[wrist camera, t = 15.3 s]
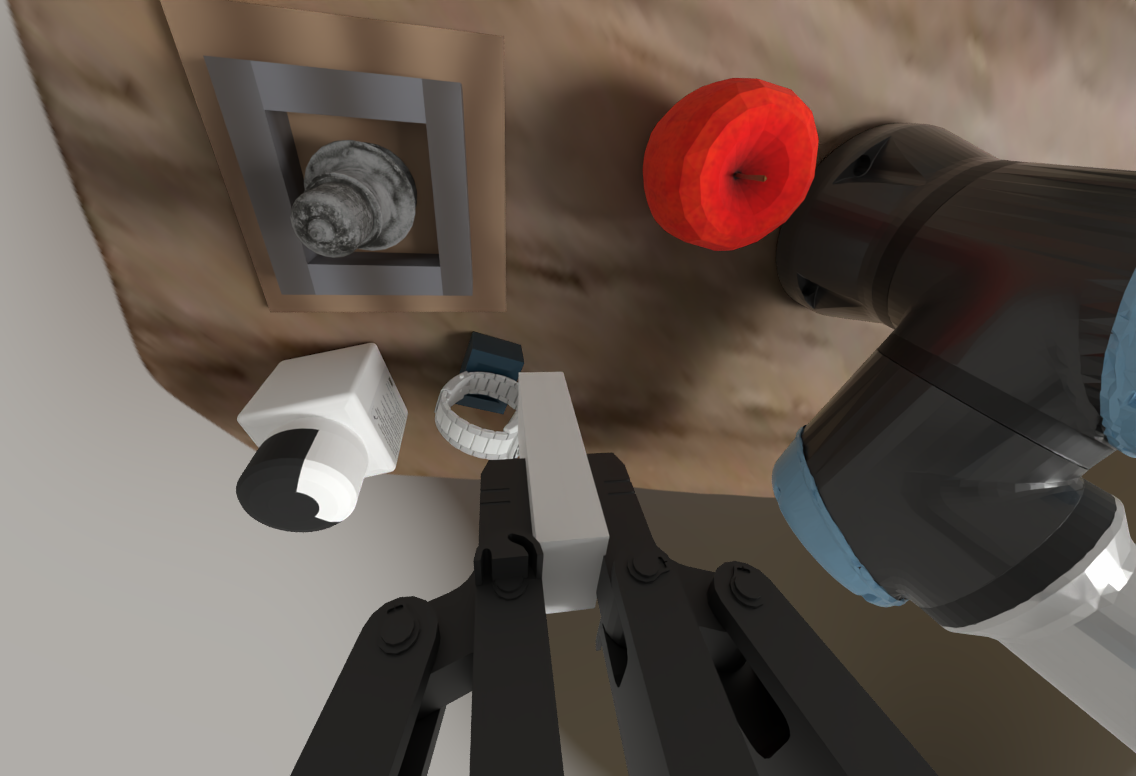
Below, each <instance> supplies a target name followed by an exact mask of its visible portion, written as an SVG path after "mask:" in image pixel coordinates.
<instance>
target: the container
mask: <svg viewBox="0 0 1136 776" xmlns="http://www.w3.org/2000/svg"><path fill="white" fill-rule="evenodd" d="M407 415H408V411H407V409H406V407H405V404H404V402H403V400H402V398H401V396H400V394H399V392H398V390H397V387H396V385H395V383H394V381H393V379H392V377H391V375H390V373H389V370H388V368H387V366H386V364H385V362H384V360H383V358H382V356H381V354H380V351H379V349H378V347H377V345H376V344H375V343H367V344H362V345H357V346H352V347H347V348H343V349H338V350H333V351H328V352H323V353H318V354H313V355H308V356H303V357H298V358H293V359H289V360H284V361H282V362H280V363H279V364H278V365H277V367H276V368H275V369H274V371H273V372H272V373H271V374H270V376H269V377H268V378H267V379H266V381H265V382H264V383H263V385H262V386H261V387H260V388H259V390H258V391H257V392H256V393H255V395H254V396H253V397H252V399H251V400H250V401H249V402H248V404H247V405H246V406H245V407H244V409H243V410H242V411H241V413H240V414H239V415H238V417H237V421H238V423H239V424H240V425H241V426H242V427H243V429H244V430H245V431H246V432H247V434H248V435H249V436H250V437H251V439H252V440H253V441H254V442H255V444H256V445H257V446H258V447H259V449H258V450H257V452H256V453H255V455H254V456H253V458H252V460H251V461H250V463H249V464H248V466H247V467H246V469H245V470H244V472H243V473H242V475H241V477H240V478H239V480H238V482H237V486H236V494H237V497H238V500H239V502H240V504H241V505H242V507H243V508H244V510H245V511H246V512H247V513H248V514H249V515H250V516H251V517H252V518H254V519H255V520H257V521H259V522H260V523H262V524H265V525H267V526H269V527H272V528H275V529H279V530H284V531H291V532H313V531H319V530H323V529H326V528H329V527H332V526H334V525H336V524H338V523H340V522H341V521H343V520H345V519H346V518H347V517H348V516H349V515H350V514H351V513H352V512H353V510H354V508H355V506H356V503H357V499H358V496H359V493H360V489H361V486H362V483H363V480H364V478H365V477H370V476H375V475H379V474H383V473H388V472H392V471H394V469H395V468H396V464H397V459H398V455H399V451H400V446H401V442H402V437H403V433H404V429H405V424H406V420H407Z"/></svg>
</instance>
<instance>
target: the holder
mask: <svg viewBox="0 0 1136 776" xmlns="http://www.w3.org/2000/svg"><path fill="white" fill-rule="evenodd" d="M160 2H161V5H162V8H163V10H164V13H165V16H166V19H167V22H168V25H169V27H170V30H171V33H172V36H173V39H174V42H175V44H176V47H177V50H178V53H179V56H180V59H181V61H182V64H183V67H184V70H185V73H186V75H187V78H188V81H189V84H190V87H191V90H192V92H193V95H194V98H195V101H196V104H197V107H198V109H199V112H200V115H201V118H202V121H203V123H204V126H205V129H206V132H207V135H208V138H209V140H210V143H211V146H212V149H213V152H214V155H215V157H216V160H217V163H218V166H219V169H220V172H221V174H222V177H223V180H224V183H225V186H226V188H227V191H228V194H229V197H230V200H231V203H232V205H233V208H234V211H235V214H236V217H237V220H238V222H239V225H240V228H241V231H242V234H243V237H244V239H245V242H246V245H247V248H248V251H249V253H250V256H251V259H252V262H253V265H254V268H255V270H256V273H257V276H258V279H259V282H260V285H261V287H262V290H263V293H264V296H265V299H266V301H267V304H268V307H269V310H270V312H506V219H505V97H504V36H497V35H489V34H482V33H474V32H466V31H459V30H451V29H443V28H436V27H428V26H420V25H413V24H405V23H397V22H390V21H382V20H374V19H366V18H359V17H351V16H343V15H336V14H328V13H320V12H313V11H305V10H297V9H290V8H282V7H274V6H267V5H259V4H251V3H243V2H236V1H228V0H160ZM341 140H354V141H359V142H367V143H372V144H378V145H380V146H382V147H384V148H386V149H388V150H390V151H391V152H393V153H394V154H395V155H396V156H398V157H399V158H400V159H401V160H402V161H403V163H404V164H405V165H406V166H407V167H408V169H409V171H410V173H411V175H412V177H413V178H414V181H415V185H416V189H417V205H416V208H415V217H414V221H413V225H412V227H411V229H410V231H409V232H408V234H407V235H406V237H405V238H404V239H402V240H401V241H400V242H399V243H398V244H396V245H394V246H392V247H389V248H387V249H383V250H375V251H371V250H363V249H356V250H355V251H354V252H353V253H351V254H349V255H347V256H344V257H337V258H332V257H325V256H323V255H320V254H317V253H315V252H314V251H312V250H310V249H309V248H308V247H307V246H305V245H304V244H303V243H302V242H301V241H300V239H299V238H298V237H297V235H296V234H295V231H294V229H293V227H292V223H291V218H290V216H291V208H292V206H293V204H294V202H295V200H296V199H297V198H298V197H299V196H300V195H301V194H303V193H304V191H305V187H304V178H305V171H306V167H307V165H308V163H309V161H310V159H311V157H312V156H313V155H314V154H315V153H316V152H317V151H318V150H319V149H320V148H321V147H322V146H325V145H327V144H329V143H332V142H334V141H341Z"/></svg>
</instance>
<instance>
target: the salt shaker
mask: <svg viewBox="0 0 1136 776" xmlns="http://www.w3.org/2000/svg"><path fill="white" fill-rule="evenodd" d="M304 187H305V191H304V193H303V194H301V195H300V196H299V197H298V198H297V199H296V200H295V202H294V204H293V206H292V208H291V216H290V218H291V223H292V227H293V229H294V231H295V234H296V235H297V237H298V238H299V239H300V241H301V242H302V243H303V244H304V245H305V246H307V247H308V248H309V249H310V250H312V251H314V252H315V253H317V254H320V255H323V256H325V257H332V258H337V257H344V256H347V255H349V254H351V253H353V252H354V251H355V250H356V249H363V250H371V251H375V250H383V249H387V248H389V247H392V246H394V245H396V244H398V243H399V242H400V241H401V240H402V239H404V238H405V237H406V235H407V234H408V232H409V231H410V229H411V227H412V225H413V221H414V217H415V208H416V205H417V189H416V185H415V181H414V178H413V177H412V175H411V173H410V171H409V169H408V167H407V166H406V165H405V164H404V163H403V161H402V160H401V159H400V158H399V157H398V156H396V155H395V154H394V153H393V152H391V151H390V150H388V149H386V148H384V147H382V146H380V145H378V144H372V143H367V142H359V141H354V140H341V141H334V142H332V143H329V144H327V145H325V146H322V147H321V148H320V149H319V150H318V151H317V152H316V153H315V154H314V155H313V156H312V157H311V159H310V161H309V163H308V165H307V167H306V171H305V178H304Z"/></svg>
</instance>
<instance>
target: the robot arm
mask: <svg viewBox="0 0 1136 776" xmlns="http://www.w3.org/2000/svg"><path fill="white" fill-rule="evenodd" d="M776 264H777V272H778V276H779V279H780V282H781V284H782V286H783V288H784V290H785V291H786V292H787V294H788V295H789V296H790V297H791V298H792V299H794V300H795V301H797V302H798V303H800V304H802V305H803V306H805V307H807V308H808V309H810V310H812V311H814V312H816V313H819V314H822V315H826V316H831V317H839V318H846V319H853V320H861V321H868V322H875V323H883V324H885V325H887V326H889V327H891V328H893V329H895V330H894V331H893V332H892V333H891V334H890V335H889V337H888V338H887V339H886V340H885V341H884V342H883V343H882V344H881V345H880V346H879V348H877V349H876V350H875V352H874V353H873V354H872V355H871V356H870V357H869V358H868V359H867V360H866V361H865V362H864V363H863V365H862V366H861V367H860V368H859V369H858V370H857V371H856V372H855V373H854V374H853V375H852V377H851V378H850V379H849V380H848V381H847V382H846V383H845V384H844V385H843V386H842V387H841V389H840V390H839V391H838V392H837V393H836V394H835V395H834V396H833V397H832V398H831V399H830V401H829V402H828V403H827V404H826V405H825V406H824V407H823V408H822V409H821V410H820V411H819V413H818V414H817V415H816V416H815V417H814V418H813V419H812V420H811V421H810V422H809V423H808V425H804V426H803V427H801V428H800V429H799V430H798V431H797V433H796V438H795V439H794V440H793V442H792V443H791V444H790V445H789V446H788V448H787V449H786V450H785V451H784V452H783V454H782V455H781V456H780V457H779V459H778V460H777V462H776V463H775V465H774V468H773V472H772V486H773V491H774V495H775V497H776V499H777V501H778V503H779V507H780V510H781V512H782V513H783V515H784V517H785V519H786V521H787V522H788V524H789V526H790V527H791V529H792V530H793V532H794V533H795V534H796V536H797V537H798V539H799V540H800V541H801V543H802V544H803V545H804V546H805V548H806V549H807V550H808V551H809V552H810V554H812V556H813V557H814V558H815V559H816V560H817V561H818V563H819V564H820V565H821V566H822V567H823V568H824V569H825V570H826V571H827V572H828V573H830V575H832V576H833V577H834V578H835V579H836V580H837V581H838V582H839V583H841V584H842V585H843V586H845V587H846V588H847V589H849V590H850V591H851V592H853V593H854V594H856V595H862V596H863V598H864V599H865V600H866V601H868V602H870V603H872V604H875V605H878V606H882V607H890V606H893V605H896V606H901V605H902V604H904V603H906V602H907V601H908V600H911V601H912V602H914V603H915V604H916V605H918V606H919V607H920V608H921V609H922V610H923V611H925V612H926V613H927V614H928V615H929V616H930V617H932V618H933V619H934V620H935V621H936V622H937V623H938V624H940V625H941V626H942V627H944V628H945V629H946V630H948V631H951V632H957V633H965V634H971V635H979V636H986V637H990V638H993V639H996V640H998V641H1000V642H1001V643H1002V644H1003V645H1004V646H1006V647H1007V648H1008V649H1009V650H1010V651H1012V652H1013V653H1014V654H1015V655H1017V656H1018V657H1019V658H1020V659H1021V660H1023V661H1024V662H1025V663H1026V664H1028V665H1029V666H1030V667H1031V668H1033V669H1034V670H1035V671H1036V672H1037V673H1039V674H1040V675H1041V676H1043V677H1044V678H1045V679H1046V680H1047V681H1048V682H1050V683H1051V684H1052V685H1053V686H1054V687H1056V688H1057V689H1058V690H1059V691H1061V692H1062V693H1063V694H1065V695H1066V696H1067V697H1068V698H1069V699H1070V700H1072V701H1073V702H1074V703H1075V704H1077V705H1078V706H1079V707H1080V708H1081V709H1083V710H1084V711H1085V712H1086V713H1088V714H1089V715H1090V716H1091V717H1092V718H1094V719H1095V720H1096V721H1097V722H1099V723H1100V724H1101V725H1102V726H1103V727H1105V728H1106V729H1107V730H1108V731H1110V732H1111V733H1112V734H1113V735H1114V736H1116V737H1117V738H1118V739H1119V740H1121V741H1122V742H1123V743H1124V744H1126V745H1127V746H1128V747H1129V748H1131V749H1132V750H1133V751H1134V752H1135V753H1136V545H1135V544H1134V542H1133V541H1132V539H1131V538H1130V535H1129V530H1128V525H1127V520H1126V515H1125V510H1124V505H1123V504H1122V502H1121V501H1120V500H1119V499H1117V498H1116V497H1114V496H1113V495H1111V494H1109V493H1107V492H1105V491H1104V490H1102V489H1100V488H1099V487H1097V486H1095V485H1093V484H1092V483H1090V482H1088V481H1086V480H1085V479H1083V478H1081V476H1082V475H1083V474H1084V473H1085V472H1087V471H1088V470H1089V469H1090V468H1091V467H1093V466H1094V465H1095V464H1097V463H1098V462H1100V461H1101V460H1103V459H1104V458H1106V457H1107V456H1108V455H1110V454H1111V453H1113V452H1114V451H1115V450H1117V449H1118V450H1119V451H1121V452H1122V453H1124V454H1126V455H1128V456H1130V457H1134V458H1135V457H1136V171H1130V170H1118V169H1105V168H1093V167H1081V166H1069V165H1057V164H1045V163H1028V162H1018V161H1008V160H1000V159H998V158H996V157H994V156H992V155H991V154H989V153H987V152H985V151H983V150H982V149H980V148H978V147H976V146H975V145H973V144H971V143H969V142H967V141H966V140H964V139H962V138H960V137H959V136H957V135H955V134H953V133H951V132H950V131H948V130H946V129H944V128H941V127H937V126H933V125H928V124H909V123H893V124H886V125H882V126H878V127H875V128H872V129H869V130H867V131H865V132H863V133H861V134H859V135H857V136H855V137H853V138H852V139H850V140H848V141H847V142H845V143H844V144H842V145H841V146H840V147H838V148H837V149H836V150H835V151H833V152H832V153H831V154H830V155H829V156H828V157H827V158H826V159H825V160H823V161H822V163H821V164H820V165H819V166H818V167H817V168H816V169H815V175H814V179H813V181H812V184H811V186H810V188H809V190H808V193H807V195H806V197H805V199H804V200H803V202H802V203H801V204H800V205H799V206H798V207H797V209H796V210H795V211H794V212H793V213H792V215H791V216H790V217H789V218H788V219H787V221H786V222H785V223H783V224H782V227H781V230H780V234H779V238H778V243H777V251H776ZM518 443H519V455H520V458H519V459H500V460H489V461H488V463H487V465H486V466H485V468H484V470H483V471H482V473H481V489H480V490H481V493H480V521H479V546H478V548H477V550H476V553H475V557H474V571H473V573H472V574H471V576H470V577H469V578H468V580H467V581H466V582H464V583H463V584H462V585H461V586H460V587H458V588H457V589H455V590H453V591H451V592H449V593H447V594H445V595H443V596H440V597H438V598H436V599H433V600H431V601H429V602H427V601H426V600H423V599H420V598H417V597H414V596H411V597H399V598H397V599H395V600H392V601H390V602H388V603H385V604H384V605H383V606H382V607H380V608H379V609H378V610H377V611H375V612H374V613H373V614H372V615H371V617H370V618H369V620H368V621H367V623H366V624H365V625H364V627H363V628H362V631H361V633H360V635H359V637H358V639H357V641H356V643H355V645H354V647H353V649H352V651H351V653H350V655H349V657H348V659H347V661H346V663H345V665H344V667H343V670H342V671H341V673H340V675H339V677H338V679H337V681H336V683H335V686H334V688H333V690H332V692H331V694H330V696H329V698H328V700H327V702H326V704H325V706H324V708H323V710H322V712H321V714H320V716H319V718H318V720H317V722H316V724H315V726H314V728H313V730H312V733H311V735H310V736H309V739H308V741H307V743H306V745H305V747H304V749H303V751H302V753H301V755H300V757H299V759H298V761H297V763H296V765H295V767H294V769H293V771H292V773H291V775H290V776H427V773H428V770H429V766H430V763H431V759H432V755H433V752H434V748H435V744H436V741H437V737H438V734H439V730H440V727H441V723H442V719H443V716H444V712H445V709H446V705H447V704H449V703H451V702H453V701H454V700H456V699H458V698H460V697H462V696H463V695H465V694H467V693H469V692H471V691H472V716H471V718H472V719H471V748H470V776H564V771H563V762H562V753H561V745H560V735H559V728H558V718H557V709H556V700H555V691H554V682H553V673H552V664H551V655H550V646H549V637H548V628H547V619H546V614H548V613H557V612H566V611H574V610H582V609H591V608H595V604H596V599H598V603H599V608H600V613H601V619H600V624H599V628H598V633H597V637H596V651H598V650H601V646H602V647H603V653H604V657H605V662H606V667H607V672H608V677H609V682H610V686H611V691H612V696H613V701H614V706H615V710H616V715H617V720H618V725H619V730H620V735H621V740H622V744H623V749H624V754H625V759H626V763H627V768H628V773H629V776H938V775H937V774H936V773H935V771H934V770H933V769H932V768H931V767H930V765H929V764H928V763H927V762H926V761H925V760H924V759H923V757H922V756H921V755H920V754H919V753H918V751H917V750H916V749H915V748H914V747H913V746H912V744H911V743H910V742H909V741H908V740H907V739H906V738H905V736H904V735H903V734H902V733H901V732H900V731H899V729H898V728H897V727H896V726H895V725H894V724H893V722H892V721H891V720H890V719H889V718H888V717H887V715H886V714H885V713H884V712H883V711H882V710H881V708H880V707H879V706H878V705H877V704H876V703H875V701H874V700H873V699H872V698H871V697H870V696H869V694H868V693H867V692H866V691H865V690H864V689H863V687H862V686H861V685H860V684H859V683H858V682H857V680H856V679H855V678H854V677H853V676H852V675H851V674H850V672H849V671H848V670H847V669H846V668H845V667H844V665H843V664H842V663H841V662H840V661H839V660H838V658H837V657H836V656H835V655H834V654H833V653H832V651H831V650H830V649H829V648H828V647H827V646H826V645H825V643H824V642H823V641H822V640H821V639H820V638H819V636H818V635H817V634H816V633H815V632H814V630H813V629H812V628H811V627H810V626H809V625H808V623H807V622H806V621H805V620H804V619H803V618H802V617H801V615H800V614H799V613H798V612H797V611H796V609H795V608H794V607H793V606H792V605H791V604H790V603H789V601H788V600H787V599H786V598H785V597H784V596H783V594H782V593H781V592H780V591H779V590H778V589H777V588H776V586H775V585H774V584H773V583H772V582H771V580H770V579H768V578H767V577H766V576H765V575H764V574H763V573H762V572H761V571H760V570H758V569H756V568H754V567H752V566H750V565H748V564H746V563H742V562H737V561H733V562H726V563H724V564H722V565H721V566H720V567H718V568H717V570H716V572H711V571H706V570H701V569H697V568H692V567H688V566H684V565H682V564H679V563H677V562H675V561H673V560H671V559H670V558H669V557H668V555H667V554H666V553H664V552H663V551H662V550H661V549H660V548H658V547H657V546H656V544H655V542H654V540H653V538H652V535H651V533H650V530H649V527H648V525H647V522H646V519H645V517H644V514H643V512H642V509H641V507H640V504H639V501H638V499H637V496H636V494H635V491H634V488H633V486H632V483H631V482H630V478H629V475H628V473H627V470H626V467H625V465H624V464H623V463H622V462H621V461H620V460H619V459H618V458H617V457H616V455H615V454H614V453H596V454H586V451H585V448H584V444H583V441H582V437H581V434H580V430H579V426H578V423H577V419H576V416H575V412H574V409H573V405H572V402H571V398H570V395H569V391H568V387H567V384H566V380H565V377H564V373H563V372H519V388H518Z"/></svg>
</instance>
